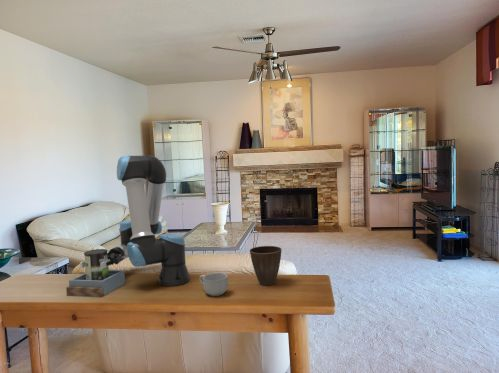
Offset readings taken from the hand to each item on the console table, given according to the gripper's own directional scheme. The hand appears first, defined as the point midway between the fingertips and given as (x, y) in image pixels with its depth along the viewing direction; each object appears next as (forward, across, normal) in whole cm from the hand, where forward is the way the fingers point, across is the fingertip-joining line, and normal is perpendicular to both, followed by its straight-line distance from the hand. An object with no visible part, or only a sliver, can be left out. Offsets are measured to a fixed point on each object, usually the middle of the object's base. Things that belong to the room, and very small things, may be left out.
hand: (90, 265), depth 170 cm
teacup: (-5, -57, -13) cm, 59 cm away
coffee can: (-4, 0, -9) cm, 10 cm away
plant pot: (-21, -78, -12) cm, 82 cm away
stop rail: (+5, 0, -12) cm, 14 cm away
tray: (-4, 0, -12) cm, 13 cm away
